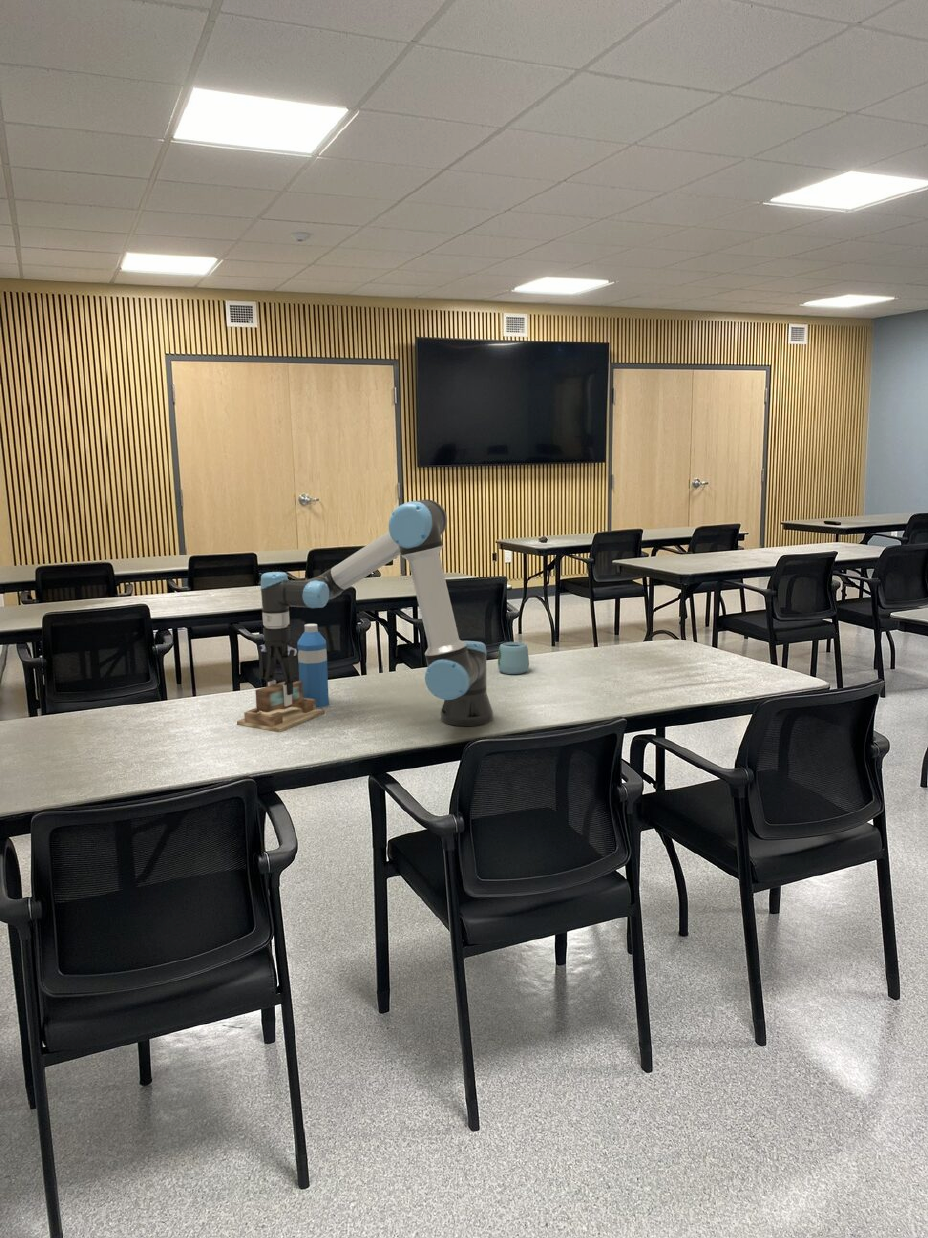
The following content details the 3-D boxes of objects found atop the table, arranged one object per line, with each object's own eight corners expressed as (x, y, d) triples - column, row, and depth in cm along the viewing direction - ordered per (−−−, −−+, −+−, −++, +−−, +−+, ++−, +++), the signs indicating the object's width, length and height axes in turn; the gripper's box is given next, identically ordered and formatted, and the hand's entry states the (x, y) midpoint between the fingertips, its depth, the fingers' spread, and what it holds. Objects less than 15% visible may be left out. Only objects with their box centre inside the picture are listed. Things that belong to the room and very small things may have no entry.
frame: (292, 699, 270) (291, 679, 269) (303, 701, 267) (302, 681, 266) (256, 710, 259) (255, 689, 258) (267, 712, 256) (266, 692, 255)
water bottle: (323, 708, 274) (319, 628, 269) (294, 707, 275) (290, 627, 271) (333, 700, 283) (330, 622, 278) (305, 699, 284) (302, 621, 280)
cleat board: (324, 713, 269) (323, 698, 268) (280, 732, 252) (279, 716, 251) (282, 706, 276) (281, 692, 275) (236, 724, 259) (236, 709, 258)
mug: (494, 666, 324) (493, 639, 322) (524, 664, 325) (524, 637, 324) (500, 676, 310) (500, 648, 308) (531, 675, 311) (531, 646, 309)
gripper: (243, 625, 260) (248, 703, 264) (292, 631, 251) (296, 711, 256) (260, 621, 266) (265, 697, 271) (309, 626, 258) (313, 704, 262)
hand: (280, 703), depth 263 cm, fingers closed on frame, 5 cm apart
